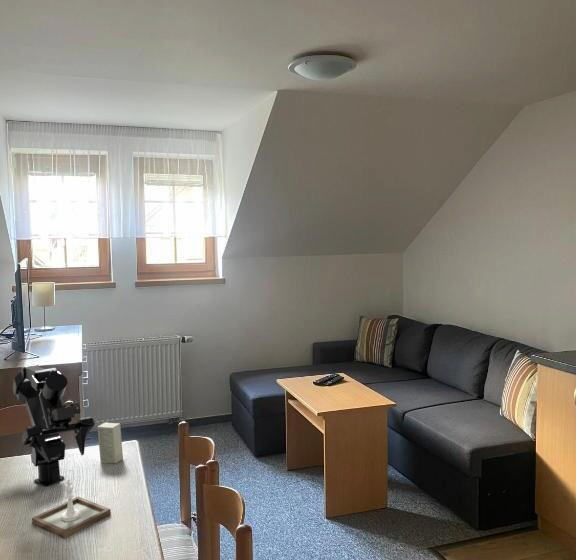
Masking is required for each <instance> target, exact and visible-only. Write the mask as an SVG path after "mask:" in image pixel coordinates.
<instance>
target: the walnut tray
mask: <svg viewBox="0 0 576 560" xmlns="http://www.w3.org/2000/svg"><path fill="white" fill-rule="evenodd" d="M72 502H73V507H74V509H75V510H79V511H80V513H81V516H80V517H79V518H78V519H76V520H73V521H63V520H61V515H62V514H63V513H64V512H66V510H67V506H68V500H67V501H65V502H63V503H61V504H58V505H56V506H55V507H52V508H49V509H48V510H46V511H43V512H42V513H38V514H37V515H35V516H33V517H31V525H33V526H36V527H38V528H40V529H43V530H44V531H47V532H48V533H51V534H52V535H55V536H58V537H60V538H62V539H64V540H65V539H67V538H69V537H70V536H73V535H75V534H76V533H79V532H81V531H82V530H84V529H86V528H89V527H90V526H92V525H94V524H96V523H98V522H100V521H102V520H104V519H105V518H107V517H109V516H111V514H112V513H111V508H109V507H106V506H103V505H101V504H99V503H96V502H94V501H91V500H89V499H85V498H83V497H81V496H75V497H73V498H72Z"/></svg>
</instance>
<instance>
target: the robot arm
mask: <svg viewBox="0 0 576 560" xmlns="http://www.w3.org/2000/svg"><path fill="white" fill-rule="evenodd" d="M67 386H68V378H67V377H66V376H65V375H64V374H62V373H61V372H60V371H59V370H58V369H57V368H56V367H51V368H43V367H41V366H39V364H30V365H23V366H21V367H20V371H19V372H18V373H17V374H16V376H15V377H14V378H13V383H12V392H13V395H14V396H16V398H17V401H18V402H20V403H21V404H23V405H25V408H26V411H27V414H28V417H29V420H30V422H31V426H27V427H26V428H25V430H24V432H23V434H22V435H21V441H22V445H23V446H26V445H28V447H30V448H31V447H32V450H31V454H30V459H31V463H32V465H33V466H34V467H37V473H38V478H35V479H34V480H33V481H34V483H37V484H38V485H41V486H44V487H48V486H51V485H52V484H56V483H57V482H60V481H62V480H64V479H65V476H64V475H61V471H60V470H61V469H60V461H62V460H63V461H64V460H65V456H66V455H65V454H66V443H65V442H64V440H63V439H62V438H61V436H60V434H62V433H63V434H64V433H69V432H73V431H74V433H75V434H76V435H75V440H76V444H77V447H78V451H79V452H80V453H79V454H80V455H81V456H84V454H85V449H86V448H85V447H86V438H87V435H88V434H89V433H90V432H91V430H92V429H93V427H95V425H96V422H95V419H94V417H92V416H85V417H79V418H78V419H77V421H76V422H75V423H71V422H72V420H73V419H75V418H76V415H79V414H81V406H80V402H73V403H70V405H69V406H67V405H66V404H64V401H63V398H62V397H64V394H65V391H66V388H67Z"/></svg>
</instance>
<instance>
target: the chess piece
mask: <svg viewBox="0 0 576 560" xmlns="http://www.w3.org/2000/svg"><path fill="white" fill-rule="evenodd" d="M70 481H71V480H70V479H67V481H66V482H65V483H66V484H67V486H65V487H64V491H65V493H66V494H65V497H64V498H65V499H67V501H68V506H67V510H66V512H64V513H63V514H62V515H61V520H63V521H73V520H76V519H78V518H79V517H80V516H81V513H80V511H79V510H75V509H74V507H73V502H72V499H73V498H75V497H74V496H75V495H74V493H73V488H74V486H73V485H72V482H70Z"/></svg>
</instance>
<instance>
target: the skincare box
mask: <svg viewBox="0 0 576 560" xmlns="http://www.w3.org/2000/svg"><path fill="white" fill-rule="evenodd" d="M96 429H97V436H98V450H99V458H100V463H109V464H117V463H118V462H120V461H122V459H124V453H123V442H122V441H123V440H122V428H121V423H118V422H103V423H101V424H99V425H98V426H97V428H96Z"/></svg>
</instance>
